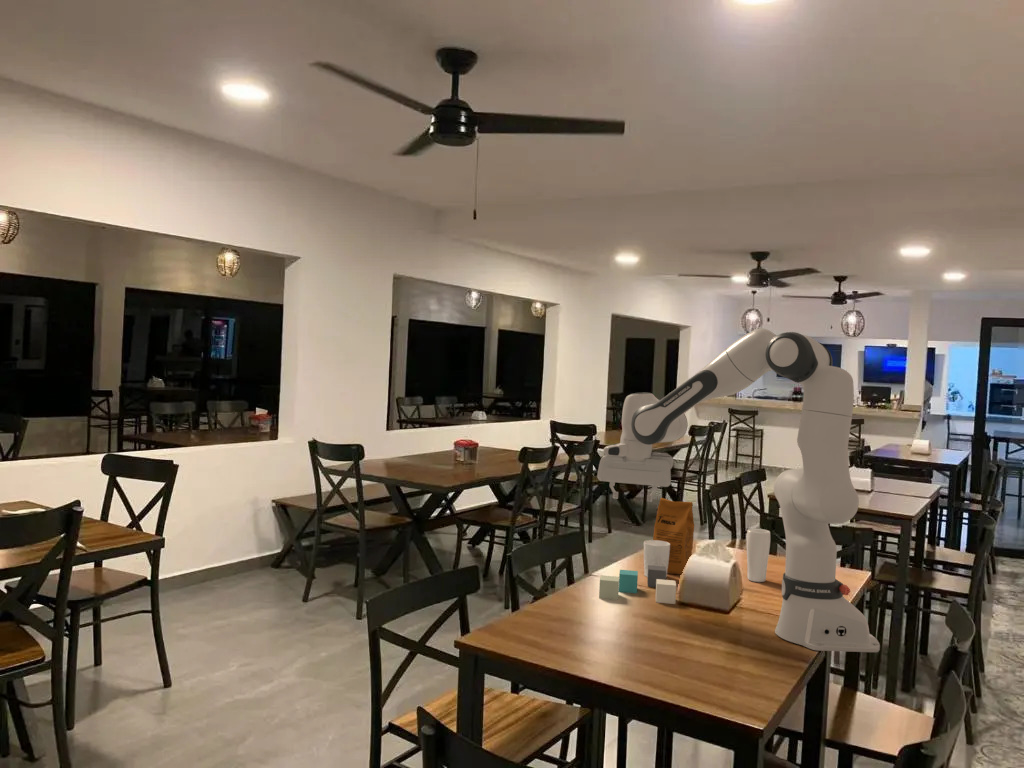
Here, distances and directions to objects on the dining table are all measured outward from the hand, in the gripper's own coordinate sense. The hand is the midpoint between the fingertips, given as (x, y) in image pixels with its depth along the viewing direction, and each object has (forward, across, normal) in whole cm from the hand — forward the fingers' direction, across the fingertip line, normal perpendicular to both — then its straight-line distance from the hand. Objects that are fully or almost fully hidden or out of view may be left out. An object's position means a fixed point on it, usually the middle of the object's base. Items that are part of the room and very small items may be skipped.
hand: (632, 500), depth 212 cm
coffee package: (+25, -13, -28) cm, 40 cm away
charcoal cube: (+25, -8, -9) cm, 28 cm away
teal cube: (+25, 0, -1) cm, 25 cm away
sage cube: (+26, +4, +8) cm, 27 cm away
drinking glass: (+24, -38, -24) cm, 51 cm away
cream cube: (+25, -10, +6) cm, 28 cm away
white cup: (+25, -8, -19) cm, 32 cm away
